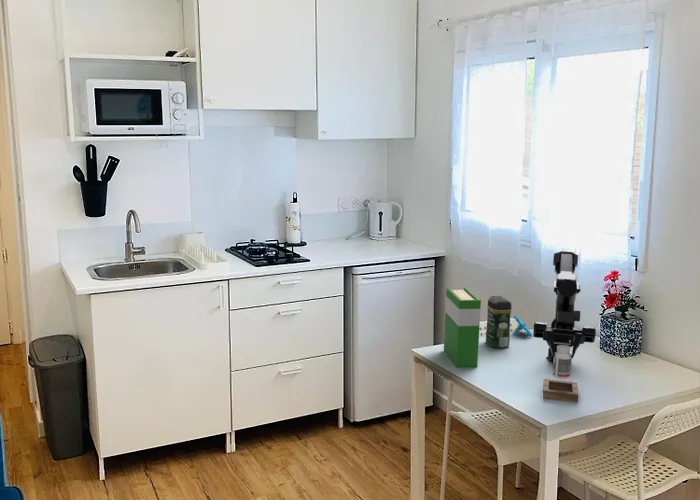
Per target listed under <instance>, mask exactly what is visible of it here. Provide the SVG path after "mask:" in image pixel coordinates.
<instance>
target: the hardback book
mask: <svg viewBox="0 0 700 500" xmlns="http://www.w3.org/2000/svg"><path fill="white" fill-rule="evenodd" d="M445 292H446V293H445V311H444V313H445V315H444V332H443V333H444V335H443V336H444V337H443V339H444V340H443V352H444V353H445V355H446V356H447V358H449V360H450V361H451V363H452V364H453V365H454V366H455V368H456V369H462V368H463V369H465V368H478V364H479V363H478V362H479V361H478V360H479V358H478V357H479V343H480V341H479V340H480V326H481V325H480V324H481V322H480V321H481V306H482V305H481V304H482V300H481V299H480V298H479V297H478V296H477V295H476V294H475V293H473V292H472V291H471V290H470V289H469V288H468V287H463V289H451V288H450V287H446V289H445Z"/></svg>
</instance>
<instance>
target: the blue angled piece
mask: <svg viewBox="0 0 700 500" xmlns="http://www.w3.org/2000/svg"><path fill="white" fill-rule="evenodd" d="M513 318H514V321H516V322H517V327H515V329H513V330H514V331H513V333H512V334H513V336H515V335H516V334H517V333H519V332H520V331H522V330H524V331H525V333H526V334H527V335H529V336H530V337H531V336H533V333H532V332H531V330H529V328H528V327H527V326H526V323H523V321H522V320H521V319H520V318H519V317H518V316H516V315H514V316H513Z"/></svg>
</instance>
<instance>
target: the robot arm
mask: <svg viewBox="0 0 700 500" xmlns="http://www.w3.org/2000/svg"><path fill="white" fill-rule="evenodd" d="M552 260H553V261H552V266H554V272H555V274H556V280H553V281H554V282H553V292H554V293H555V295H556V299H555V316H554V317H555V318H554V319H553V320H552V321H551V324H550V326H548V324H547V322H539V321H536V322H534V324H533V333H532V337H533V338H537V339H542V340H543V341H545V342H546V343H547V345H548V349H547V352H548V353H547V356H546V358H545V359H547V360H548V361H549V362H552V363H553V361H554V353H555V352H557V346H558V345H567V346H569V347H570V348H572V350H571V355H572V359H574V357H575V355H576V353H577V350H578V348H579V347H580V345H584V344H585V343H591V344H592V343H595V341H596V336H597V329H596V327H593V326H583V325H582V327H581V330H580V329H574V328H575V324H576V323H575V322H580V321H581V310H575V302H576V299H577V295H578V294H579V293H581V285H580V284H579V282H578V281H577V275H575V271H576V268H578V263H579V261H578V260H579V255H578V254H576V253H575V252H574V251H573V250H559V251H558V252H555V253H553V259H552Z"/></svg>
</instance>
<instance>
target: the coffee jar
mask: <svg viewBox="0 0 700 500" xmlns="http://www.w3.org/2000/svg"><path fill="white" fill-rule="evenodd" d="M511 313H512V302H511V301H510V300H509V299H507V298H505V297H503V296H502V295H491V296H490V297H489V298H488V299H487V319H486V331H485V332H486V333H485V342H486V343H487V344H488V345H489V346H490V347H491V348H498V349H506V348H507V347H509V346H510V340H511V339H510V337H511V336H510V335H511V333H510V332H511V328H510V327H511Z"/></svg>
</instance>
